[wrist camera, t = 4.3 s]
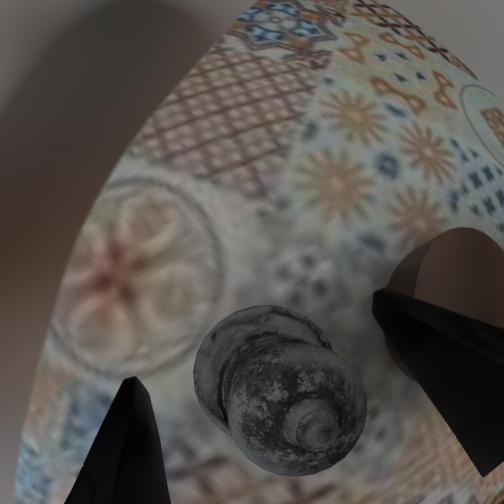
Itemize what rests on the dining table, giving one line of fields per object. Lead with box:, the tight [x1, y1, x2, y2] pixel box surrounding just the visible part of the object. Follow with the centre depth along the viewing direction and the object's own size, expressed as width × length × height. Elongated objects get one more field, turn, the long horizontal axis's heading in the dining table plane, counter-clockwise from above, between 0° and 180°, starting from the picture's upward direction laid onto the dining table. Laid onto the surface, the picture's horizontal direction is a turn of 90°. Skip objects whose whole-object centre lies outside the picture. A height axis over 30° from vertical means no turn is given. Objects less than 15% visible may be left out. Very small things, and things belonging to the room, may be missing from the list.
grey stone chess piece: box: [193, 305, 367, 477], centre depth 9 cm, size 6×6×12 cm
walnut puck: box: [385, 227, 504, 383], centre depth 15 cm, size 9×9×4 cm
